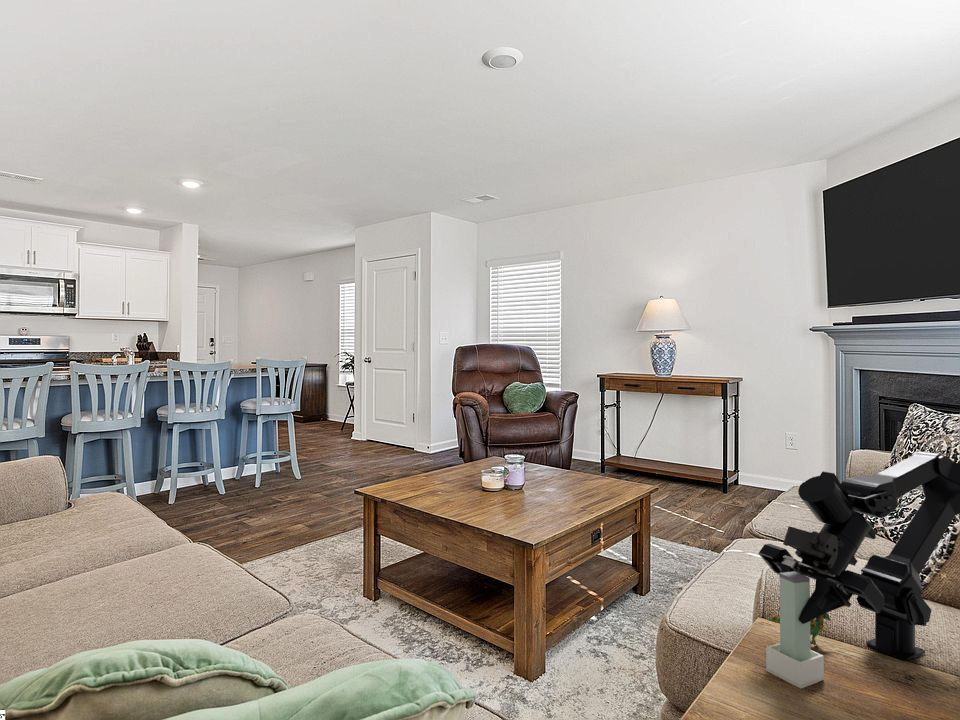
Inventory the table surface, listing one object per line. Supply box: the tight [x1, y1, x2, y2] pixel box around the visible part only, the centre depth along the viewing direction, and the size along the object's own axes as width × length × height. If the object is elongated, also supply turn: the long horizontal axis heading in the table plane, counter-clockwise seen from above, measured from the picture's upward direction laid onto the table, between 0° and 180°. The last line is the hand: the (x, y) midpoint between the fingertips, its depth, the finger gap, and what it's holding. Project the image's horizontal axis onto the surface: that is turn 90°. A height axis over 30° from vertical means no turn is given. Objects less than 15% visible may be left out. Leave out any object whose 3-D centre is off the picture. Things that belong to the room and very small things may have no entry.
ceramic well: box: [765, 642, 825, 689], centre depth 89 cm, size 6×6×4 cm
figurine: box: [767, 612, 831, 647], centre depth 99 cm, size 3×12×8 cm, turn 96°
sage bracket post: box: [779, 571, 812, 662], centre depth 89 cm, size 3×3×14 cm
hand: (790, 617), depth 89 cm, fingers closed on sage bracket post, 3 cm apart
